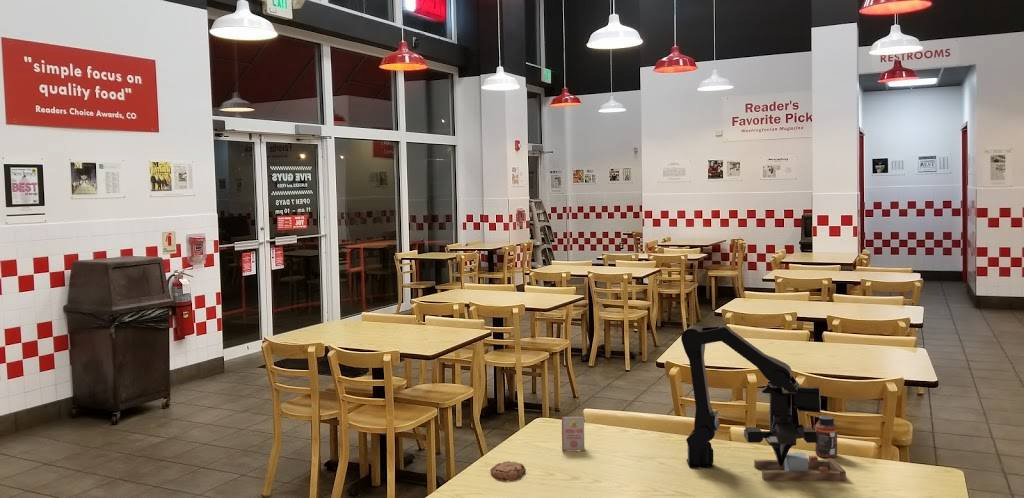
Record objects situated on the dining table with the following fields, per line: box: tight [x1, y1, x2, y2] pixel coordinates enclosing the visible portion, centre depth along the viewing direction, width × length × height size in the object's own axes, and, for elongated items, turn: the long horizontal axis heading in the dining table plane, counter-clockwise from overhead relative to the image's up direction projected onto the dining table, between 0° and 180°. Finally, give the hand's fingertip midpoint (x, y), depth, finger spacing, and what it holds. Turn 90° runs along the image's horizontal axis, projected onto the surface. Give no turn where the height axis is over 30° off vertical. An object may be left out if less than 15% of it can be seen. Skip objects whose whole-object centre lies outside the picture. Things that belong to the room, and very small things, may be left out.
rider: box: [784, 452, 809, 471], centre depth 218 cm, size 5×5×5 cm
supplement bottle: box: [814, 415, 838, 459], centre depth 233 cm, size 6×6×11 cm
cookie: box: [489, 460, 527, 482], centre depth 222 cm, size 10×11×3 cm
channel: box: [753, 455, 847, 482], centre depth 218 cm, size 22×11×3 cm, turn 85°
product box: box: [561, 416, 585, 451], centre depth 244 cm, size 4×7×10 cm, turn 85°
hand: (780, 465), depth 218 cm, fingers closed
